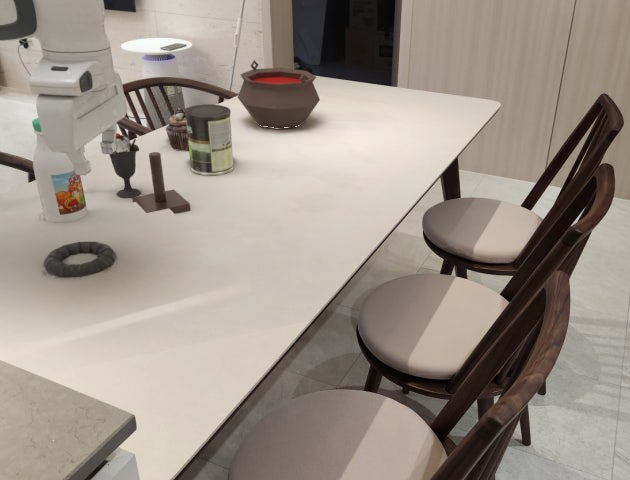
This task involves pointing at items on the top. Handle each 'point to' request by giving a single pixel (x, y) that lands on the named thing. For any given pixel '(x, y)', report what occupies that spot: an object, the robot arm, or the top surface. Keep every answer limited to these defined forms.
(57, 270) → the tire
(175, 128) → the cupcake
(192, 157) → the coffee can
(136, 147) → the sundae
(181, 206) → the peg stand
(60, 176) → the milk bottle
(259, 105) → the cauldron
